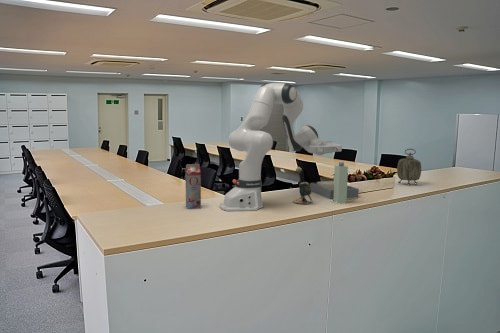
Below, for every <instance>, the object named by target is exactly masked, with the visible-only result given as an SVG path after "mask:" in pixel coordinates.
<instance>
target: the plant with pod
mask: <svg viewBox="0 0 500 333" xmlns="http://www.w3.org/2000/svg"><path fill="white" fill-rule="evenodd" d="M302 171H303V168H301V167H300V166H297V167H296V169H295V174H298V176H299V178H301V174H302ZM298 190H299V196H300V197H298V198H297V199H296V200H293V201H292V203H295V204H296V203H297V204H301V205H302V204H303V205H309V204H308V203H310V204H311V202H313V199H312V198H311V194H312V192H311V187H310V183H309V182H307V181H303V182H301V179H299V184H298ZM306 196H308V198H309V199H310V201H311V202H310V201H309V200H307V199H306Z"/></svg>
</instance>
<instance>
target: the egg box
mask: <svg viewBox="0 0 500 333" xmlns="http://www.w3.org/2000/svg"><path fill="white" fill-rule="evenodd" d="M315 183H316V185H319V186H322V187H324V188H327V189H330V190H334V180H330V181H327V180H326V181H317V182H315Z"/></svg>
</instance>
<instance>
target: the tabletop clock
mask: <svg viewBox="0 0 500 333" xmlns="http://www.w3.org/2000/svg"><path fill="white" fill-rule="evenodd" d="M410 150H411V151H413V152H414V153H411V152H409V153H407V152H406V151H410ZM404 154H405V155H407V156H406V157H405V158H401V159H399V160H398V161H397V166H396V173H397V177H398V178H399V179H400V180H398V182H397V183H398V184H399V183H400V184H401V181H408V183H407V185H408V184H410V181H414V184H415V183H417V184H418V182H417V181H419V179H420V178H421V175H422V163H421V161H420V160H418V159H415V157H414V156H413V155H415V154H416V149H414V148H407V149H405V150H404ZM410 185H411V184H410Z"/></svg>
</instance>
